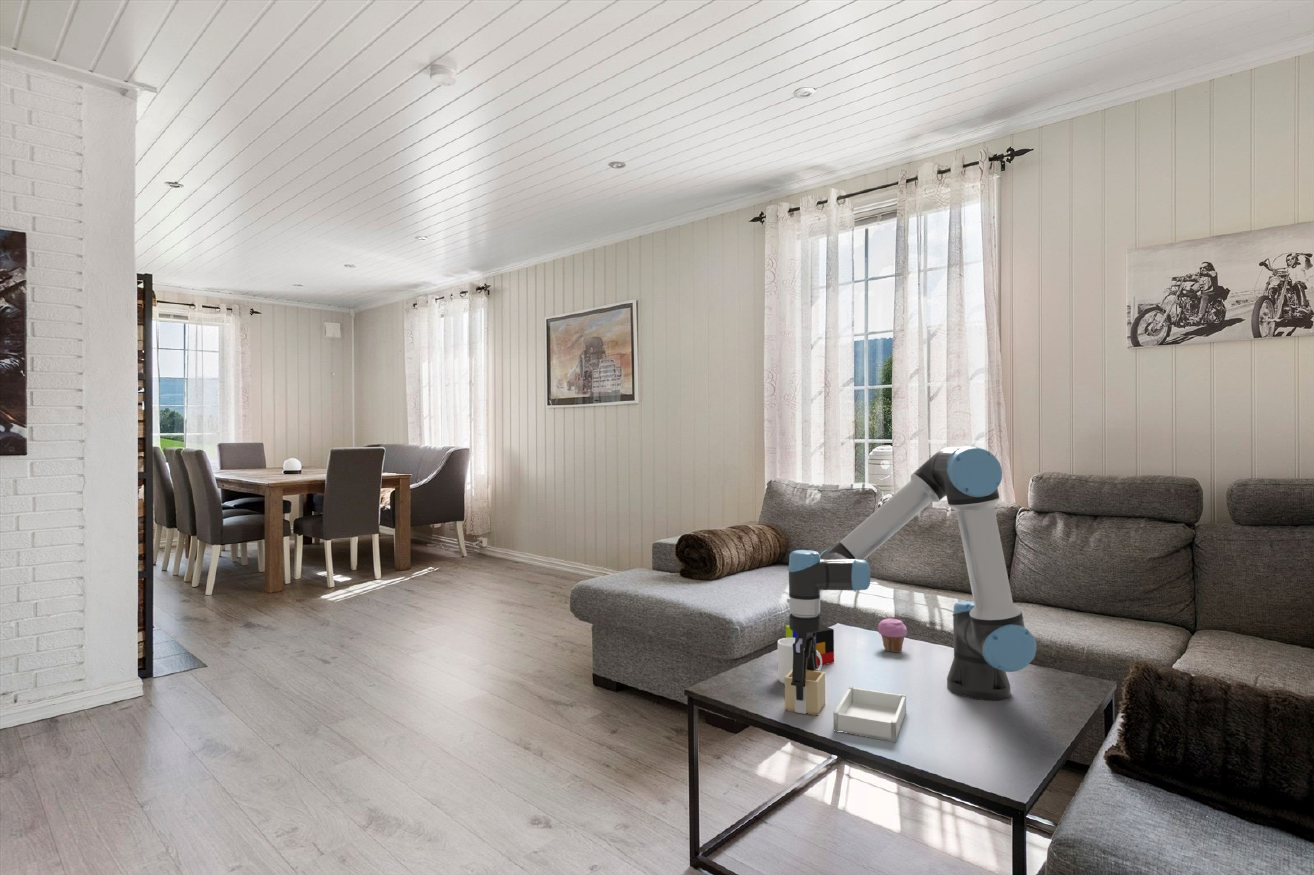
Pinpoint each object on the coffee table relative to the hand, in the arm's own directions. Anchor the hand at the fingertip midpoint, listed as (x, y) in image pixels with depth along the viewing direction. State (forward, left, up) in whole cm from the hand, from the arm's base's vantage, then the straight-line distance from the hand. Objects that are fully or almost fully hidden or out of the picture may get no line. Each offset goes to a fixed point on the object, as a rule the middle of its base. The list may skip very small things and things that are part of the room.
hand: (805, 706), depth 170 cm
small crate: (0, 0, 0) cm, 0 cm away
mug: (+6, -18, -1) cm, 19 cm away
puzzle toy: (+8, -37, -1) cm, 38 cm away
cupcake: (-13, -58, -1) cm, 59 cm away
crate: (-16, +2, 0) cm, 16 cm away
